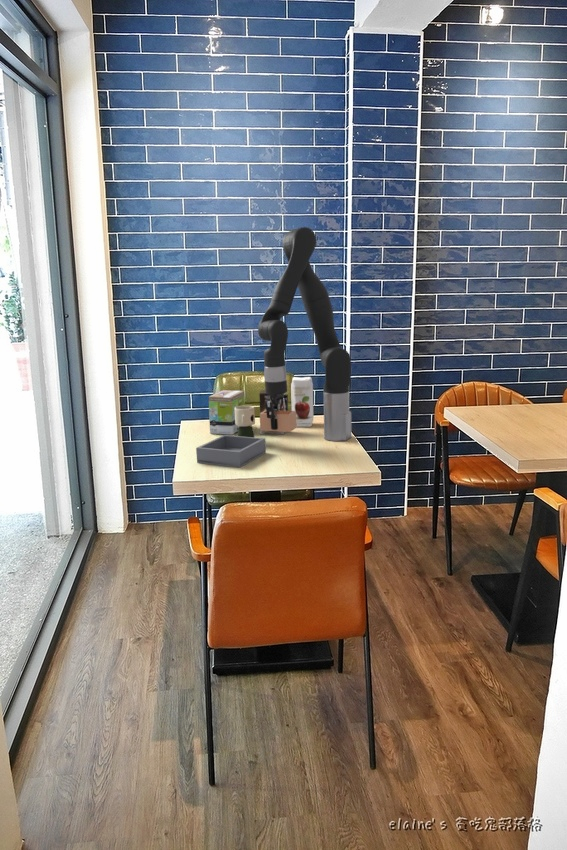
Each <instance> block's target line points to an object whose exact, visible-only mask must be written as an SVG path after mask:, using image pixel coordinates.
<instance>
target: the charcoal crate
mask: <svg viewBox="0 0 567 850" xmlns="http://www.w3.org/2000/svg"><path fill="white" fill-rule="evenodd" d="M195 451H196V462H197V464H205V465H215V466H225V467H232V468H233V467H234V468H241V467H243V466H246V465H247V464H248V463H251V462H252V461H254V460H256V459H258V458H259V457H261V456H263V455H264V454H266V453H267V452H266V451H267V449H266V438H262V437H255V436H254V437H242V436H238V435H232V434H222V435H221V436H218V437H217V438H215V439H213V440H210V441H207V442H206V443H204V444H202V445H199V446H197V447H195Z"/></svg>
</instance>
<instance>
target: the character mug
mask: <svg viewBox="0 0 567 850" xmlns="http://www.w3.org/2000/svg"><path fill="white" fill-rule="evenodd" d="M255 416H256V414H255V406H253V405H245V406H238V407H235V424H236V425H237V426H239V428H238V431H237V436H242V437H254V438H255V434H254V429H253V426H254V425H255V424H256V417H255Z"/></svg>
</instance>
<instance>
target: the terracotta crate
mask: <svg viewBox="0 0 567 850" xmlns="http://www.w3.org/2000/svg"><path fill="white" fill-rule="evenodd" d="M274 413H275V412H274ZM269 415H270V412H269ZM259 424H260V425H259V426H260V427H259V428H261V429H260V430H261V431H281V432H284V433H291V432H292V431H294V430H295V429H297V428H298V427H297V424H296V411H292V410H288V411H287V410H284V411H283V410H279V413H278V414H277V424H278V429H277V430H272V429H271V419H270V418H267V413H266V410H265V411H264V412H262V413H260V412H259Z"/></svg>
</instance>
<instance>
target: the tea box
mask: <svg viewBox="0 0 567 850" xmlns="http://www.w3.org/2000/svg"><path fill="white" fill-rule="evenodd" d="M245 395H246V393H245V390H232V389H231V390H229V389H228V390H227V389H226V390H225V389H224V390H220V391H218V392H215V393H214V394H211V395H210V396H208V417H209V420H208V421H209V434H211V435H213V434H214V435H234V434H235V433H238V428H239V426H237V425H236V424H235V407H238V406H246V396H245Z"/></svg>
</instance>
